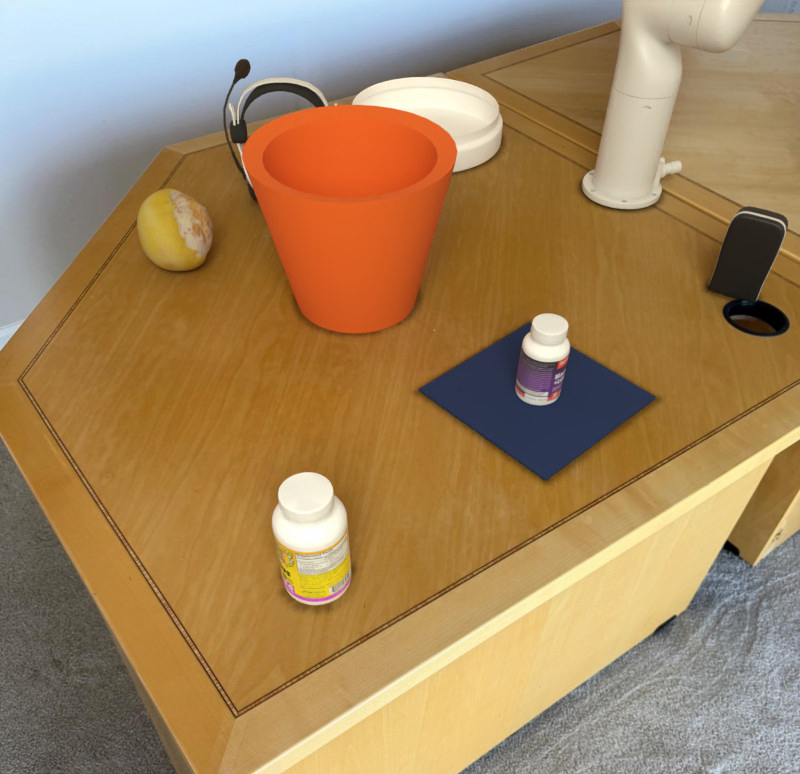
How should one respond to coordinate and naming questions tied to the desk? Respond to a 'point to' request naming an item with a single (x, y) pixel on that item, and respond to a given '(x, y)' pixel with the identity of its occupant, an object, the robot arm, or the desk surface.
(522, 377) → the pill bottle
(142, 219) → the fruit
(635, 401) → the mat
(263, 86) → the headset
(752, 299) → the battery charger
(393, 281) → the flowerpot
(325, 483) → the supplement bottle
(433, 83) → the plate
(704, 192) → the desk surface
